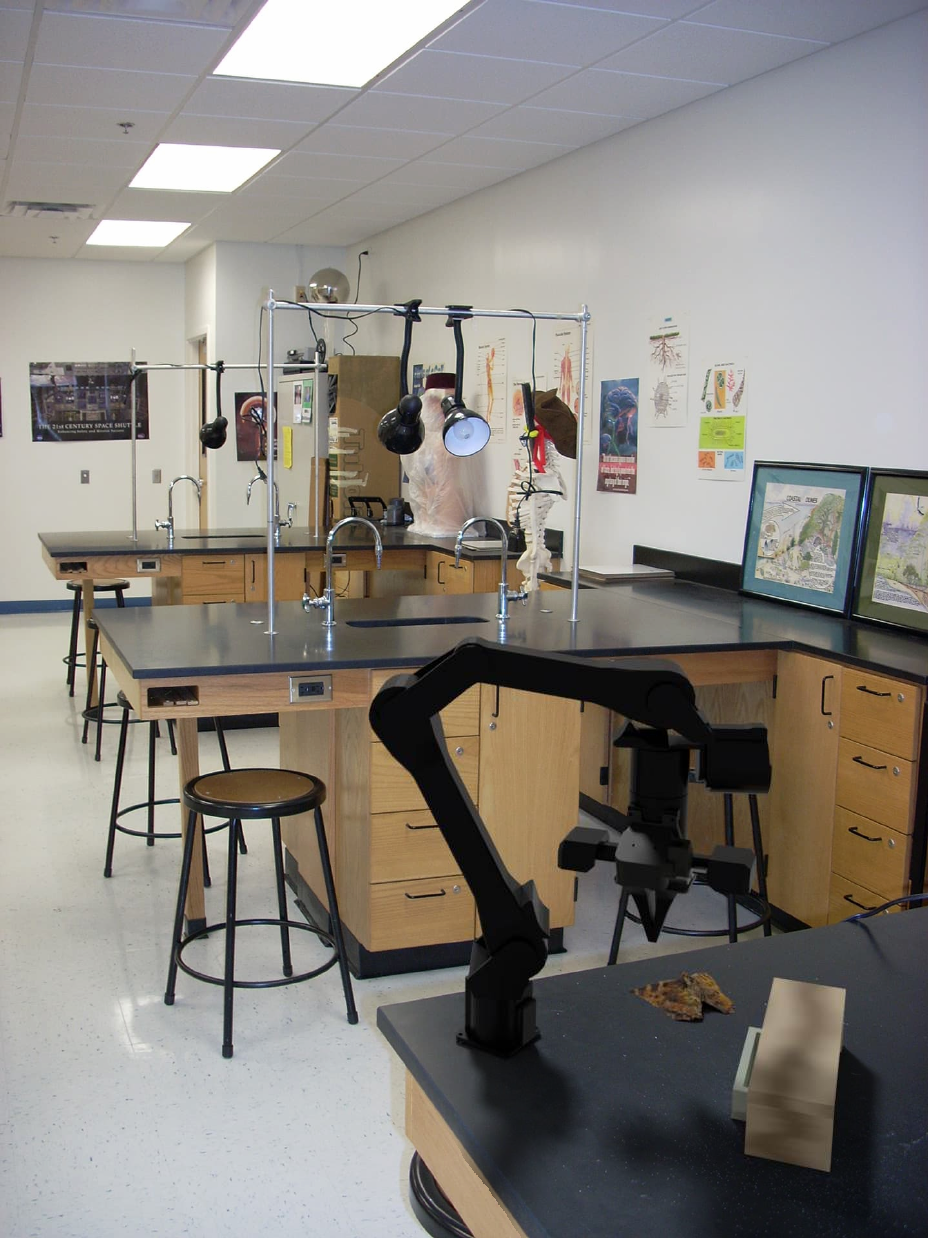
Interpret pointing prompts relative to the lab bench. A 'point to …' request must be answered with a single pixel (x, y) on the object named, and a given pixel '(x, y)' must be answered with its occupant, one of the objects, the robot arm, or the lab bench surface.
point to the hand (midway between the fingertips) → (653, 941)
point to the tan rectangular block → (796, 1075)
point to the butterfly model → (685, 996)
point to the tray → (744, 1074)
